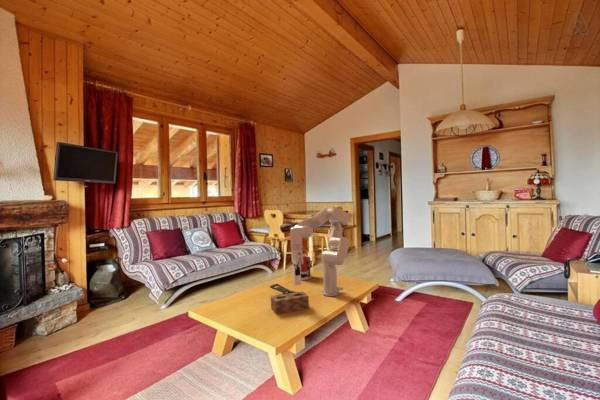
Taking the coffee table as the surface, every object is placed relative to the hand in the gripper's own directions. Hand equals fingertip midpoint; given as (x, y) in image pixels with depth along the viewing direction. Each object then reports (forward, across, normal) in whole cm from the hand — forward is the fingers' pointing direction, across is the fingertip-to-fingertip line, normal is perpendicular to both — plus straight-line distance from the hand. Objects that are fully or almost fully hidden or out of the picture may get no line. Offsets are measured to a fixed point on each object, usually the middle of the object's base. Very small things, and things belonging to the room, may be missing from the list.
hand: (297, 274), depth 195 cm
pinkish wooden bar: (+6, 0, 0) cm, 6 cm away
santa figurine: (+21, +60, -29) cm, 70 cm away
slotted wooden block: (+21, 0, +6) cm, 22 cm away
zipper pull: (+21, +22, +1) cm, 30 cm away
